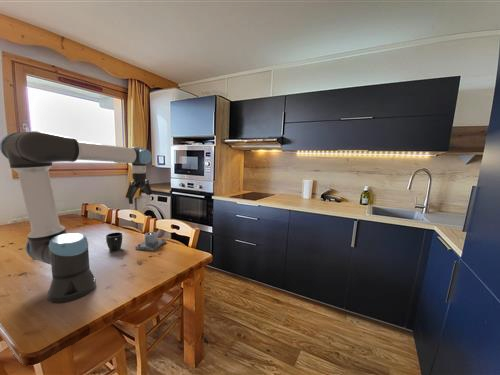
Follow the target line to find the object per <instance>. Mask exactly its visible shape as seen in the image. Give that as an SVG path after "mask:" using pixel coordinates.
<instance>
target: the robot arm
mask: <svg viewBox="0 0 500 375" xmlns="http://www.w3.org/2000/svg"><path fill="white" fill-rule="evenodd" d="M0 152H1V154H2V155H3V156H4V157H5V158H6V159H8V163H9V168H10V169H11V170H13V171H15V172H16V173H17V176H18V179H19V184H20V187H21V193H22V197H23V200H24V204H25V208H26V213H27V216H28V217H27V218H28V221H29V224H30V228H31V230H30V231H29V233H28V234H27V236H26V237H27V242H26V243H25V252H26V254H27V255H28V256H29V257H30V258H31V259H32V260H35V261H39V262H42V263H45V264H48V265H50V267H51V276H52V278H51V283H50V286H49V289H48V292H47V299H48V301H49V302H51V303H53V304H54V303H55V304H60V303H68V302H71V301H75V300H77V299H80V298H83V297H84V296H86V295H89V293H91V292H92V291H94V289H96V287H97V282H96V277H95V276H94V274H93V272H92V270H91V268H90V258H89V257H90V255H89V241H88V239H87V236H86V235H84V234H83V233H80V232H79V233H78V232H74V233H72V232H70V233H69V232H68V233H67V230H66V226H64V225H62V224H61V223H60V219H59V215H58V210H57V205H56V200H55V195H54V190H53V187H52V186H53V185H52V181H51V177H50V172H49V170H50V169H52V167H53V163H59V162H60V163H63V162H64V163H65V162H70V163H74V162H77V161H78V160H79V161H94V162H111V163H117V164H121V163H122V164H131V172H132V179H133V180H131V181H129V184H128V188H127V191H126V194H125V198H126V199H128V203H129V209H130V210H135V207H136V205H135V195H136V193H137V191H138V190H139V189H142V190H143V192H144V193H145V195H144V198H145V200H144V201H145V202H144V204H145V205H146V206H150V203H151V202H150V201H151V200H150V199H151V195H152V194H153V190H152V188H151V185H150V181H149V179H147V164H149V163H151V161H152V159H153V158H152V157H153V156H152V152H151V151H150V150H148V149H146V148H145V147H141V146H132V147H124V146H118V145H117V146H116V145H110V144H103V143H94V142H89V141H88V142H87V141H79V140H78V139H77V138H75V137H70V136H65V135H64V136H63V135H59V134H54V133H50V132H44V131H38V130H35V131H33V130H32V131H16V132H12V133H9V134H7V135H5V136H4V137H2V139H1V140H0Z"/></svg>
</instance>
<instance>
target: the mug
mask: <svg viewBox="0 0 500 375" xmlns="http://www.w3.org/2000/svg"><path fill="white" fill-rule="evenodd" d="M105 240H106V244H107V248H108V250H109V251H110V252H113V253H114V252H117V251H120V250H121V248H122V244H123V233H122V232H119V231H118V232H111V233H108V234H106V235H105Z"/></svg>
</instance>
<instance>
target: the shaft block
mask: <svg viewBox="0 0 500 375" xmlns="http://www.w3.org/2000/svg"><path fill="white" fill-rule="evenodd" d="M150 235H153V233H150ZM164 243H165V244H166V243H167V239H164V238H158V243H156V244H154V245H145V240H144V241H143V242H141V243H139V244H137V245H135V250H138V251H146V252H147V251H149V252H150V251H151V252H155V251H156V250H157V249H160V247H162V246H163V245H165V244H164Z"/></svg>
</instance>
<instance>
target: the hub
mask: <svg viewBox="0 0 500 375" xmlns="http://www.w3.org/2000/svg"><path fill="white" fill-rule="evenodd" d="M150 233H153V235H150ZM143 236H144V238H143V239H144V241H145V245H154V244H156V243H158V239H159V237H158V232H157V231H150V232H145V233H144V234H143Z"/></svg>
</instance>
